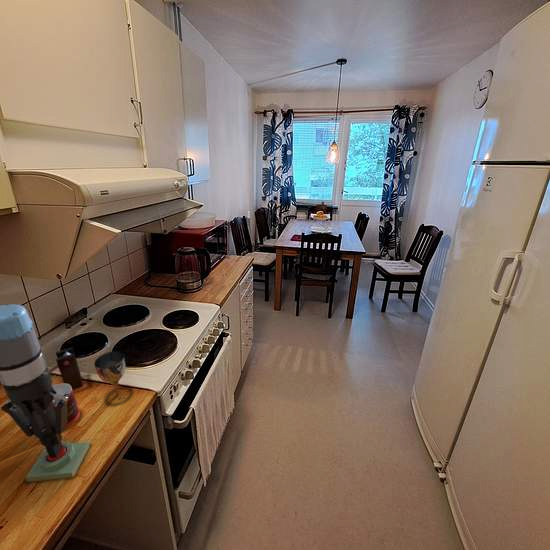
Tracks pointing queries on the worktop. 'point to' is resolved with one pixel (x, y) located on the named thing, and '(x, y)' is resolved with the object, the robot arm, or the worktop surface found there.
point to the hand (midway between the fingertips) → (56, 452)
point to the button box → (58, 463)
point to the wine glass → (111, 368)
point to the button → (58, 455)
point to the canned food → (68, 402)
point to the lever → (56, 363)
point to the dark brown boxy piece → (69, 368)
